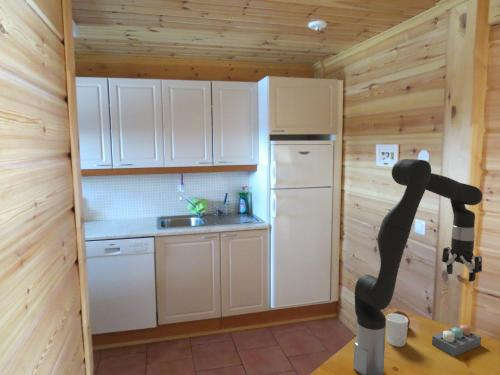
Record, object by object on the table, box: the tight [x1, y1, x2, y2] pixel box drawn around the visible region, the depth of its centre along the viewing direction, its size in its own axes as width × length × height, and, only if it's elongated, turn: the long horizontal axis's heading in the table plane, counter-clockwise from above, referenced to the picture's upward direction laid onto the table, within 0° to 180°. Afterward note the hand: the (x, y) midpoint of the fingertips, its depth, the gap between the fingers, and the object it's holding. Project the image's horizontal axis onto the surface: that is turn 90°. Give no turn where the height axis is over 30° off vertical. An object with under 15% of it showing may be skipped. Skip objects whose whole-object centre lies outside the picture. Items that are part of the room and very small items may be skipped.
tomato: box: [393, 310, 411, 329], centre depth 149 cm, size 8×8×7 cm
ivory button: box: [442, 330, 455, 344], centre depth 134 cm, size 4×4×4 cm
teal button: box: [451, 326, 463, 341], centre depth 136 cm, size 4×4×4 cm
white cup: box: [385, 312, 409, 347], centre depth 139 cm, size 8×8×10 cm
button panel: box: [431, 325, 482, 357], centre depth 137 cm, size 16×9×4 cm, turn 116°
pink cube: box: [459, 323, 472, 337], centre depth 139 cm, size 4×4×4 cm
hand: (460, 277), depth 138 cm, fingers open, 8 cm apart
